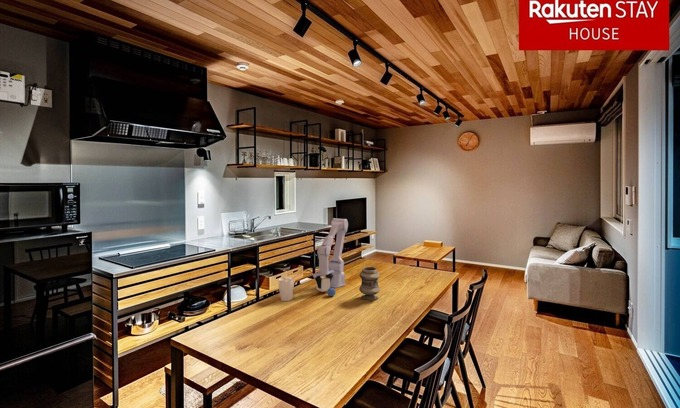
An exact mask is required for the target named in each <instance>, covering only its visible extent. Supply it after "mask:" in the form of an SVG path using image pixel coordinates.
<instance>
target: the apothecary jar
mask: <svg viewBox="0 0 680 408" xmlns="http://www.w3.org/2000/svg"><path fill="white" fill-rule="evenodd" d="M380 275H381V274H380V273H379V271H378V268H377V267H376V266H364V267H362V269H361V271H360V273H359V277H360V279H361V283H360V284H361V285H360V286H359V287H358V288H359V289H358V290H359V292H360V293H361V294H363V295H362V296H361V297H360V299H361V300H362V301H366V302H375V301H377V300H378V299H379V298H378V296H377V295H378V293H380V291H381V287H380V286H379V283H378V281H379V278H380Z"/></svg>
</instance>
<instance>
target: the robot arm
mask: <svg viewBox="0 0 680 408" xmlns="http://www.w3.org/2000/svg"><path fill="white" fill-rule="evenodd" d="M330 225H331V227H330V229H329V232H328V235H326V236H325V238H324V240H323V241H322V243H321V245H319V246H318V247H317V249H316V250H317V251H316V252H317V258H318V272H316V273H313V274H312V277H313V278H314V280H315V283H316V282H317V285H318V288H321V281H322V278H321V277H327V278H329V279H330V288H334V289H335V288H336V289H337V288H340V287H344V286H346V285H347V284H346V277H345V276H346V275H345V272H344V268H345V261H344V260H343V259H342V253H343V247H344V243H345V242H344V241H345V235H346V233H347V232H348V228H349V222H348V219H347V218H335V217H333V218H332V220H331V222H330ZM335 235H336V238H335ZM334 238H335V239H336V241H335V243H334ZM333 243H334V251H333V255H332V256H331V257H330V258H329V256H330V255H331V248H332V245H333Z"/></svg>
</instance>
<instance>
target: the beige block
mask: <svg viewBox="0 0 680 408" xmlns="http://www.w3.org/2000/svg"><path fill="white" fill-rule="evenodd" d="M320 277H321V278H322V281H321V288H318V285H317V282H316V281H315V284H316V285H315V286H316V290H318V291H319V292H322V293H323V292H327V291H328V289H329V288H331V286H330V279H329V278H327V277H326V276H320Z"/></svg>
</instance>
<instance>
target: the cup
mask: <svg viewBox="0 0 680 408" xmlns="http://www.w3.org/2000/svg"><path fill="white" fill-rule="evenodd" d="M294 286H295V278H294V277H292V276H282V277H280V278H279V279H278V290H279V296H280V301H282V302H289V301H292V300H293V297H294V288H295V287H294Z"/></svg>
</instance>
